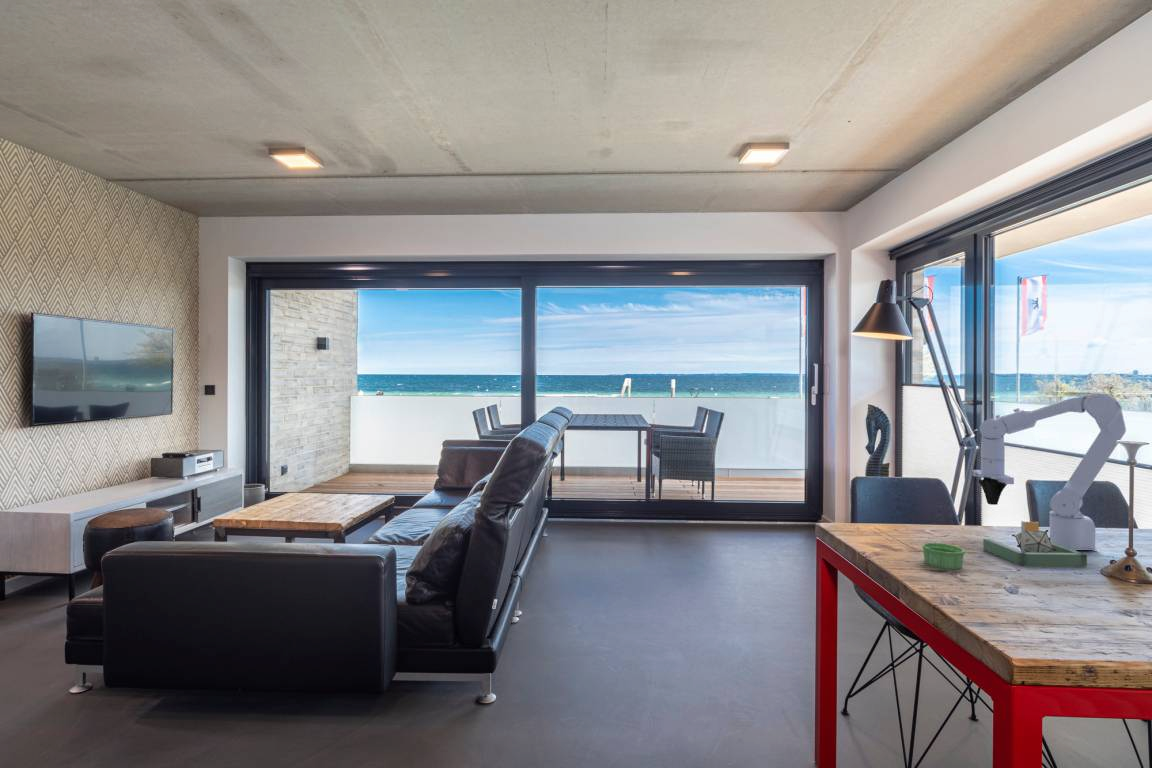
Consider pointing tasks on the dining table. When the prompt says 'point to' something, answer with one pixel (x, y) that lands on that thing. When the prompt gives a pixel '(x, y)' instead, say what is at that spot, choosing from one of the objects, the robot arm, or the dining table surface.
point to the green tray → (1036, 559)
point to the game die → (1035, 541)
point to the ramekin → (943, 555)
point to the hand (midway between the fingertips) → (992, 504)
